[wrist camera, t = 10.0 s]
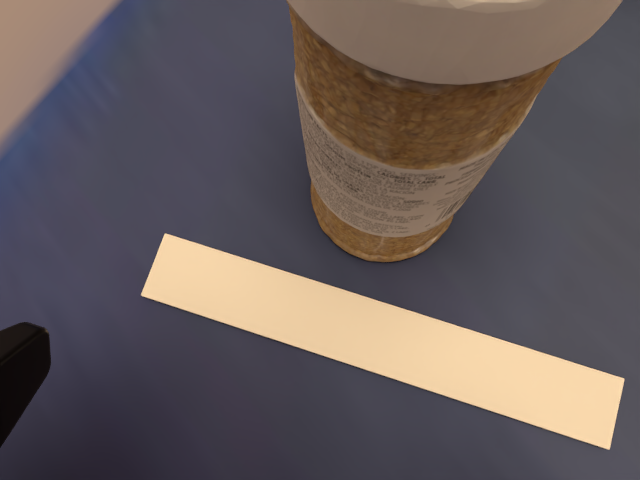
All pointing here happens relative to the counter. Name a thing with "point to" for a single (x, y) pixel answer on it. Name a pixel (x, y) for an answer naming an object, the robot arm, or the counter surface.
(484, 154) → the sprinkles bottle
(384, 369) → the thin cream strip
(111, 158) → the counter surface
